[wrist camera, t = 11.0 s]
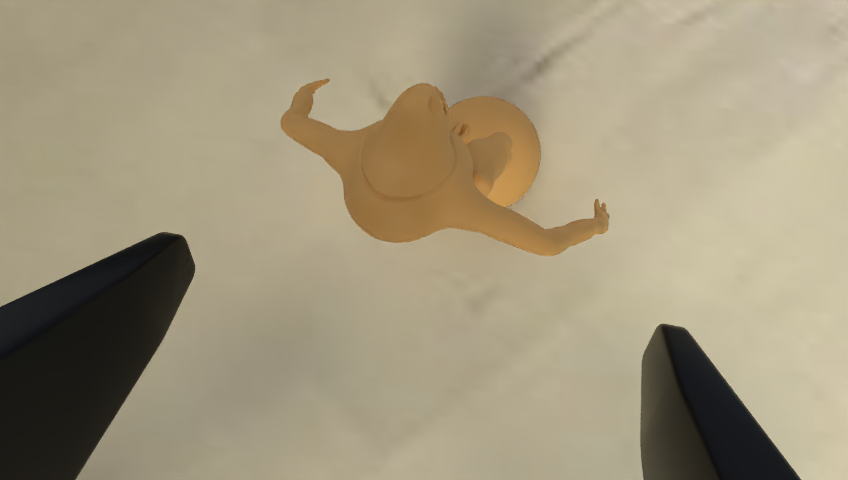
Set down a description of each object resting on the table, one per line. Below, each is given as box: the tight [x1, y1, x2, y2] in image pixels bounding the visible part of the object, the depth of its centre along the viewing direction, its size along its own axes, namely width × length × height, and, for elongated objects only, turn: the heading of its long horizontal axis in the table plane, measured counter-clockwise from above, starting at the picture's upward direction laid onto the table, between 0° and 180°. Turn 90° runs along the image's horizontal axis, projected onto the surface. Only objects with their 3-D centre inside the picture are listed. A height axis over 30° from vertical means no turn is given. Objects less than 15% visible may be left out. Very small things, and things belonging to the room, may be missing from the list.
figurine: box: [281, 79, 609, 256], centre depth 14 cm, size 8×6×12 cm
